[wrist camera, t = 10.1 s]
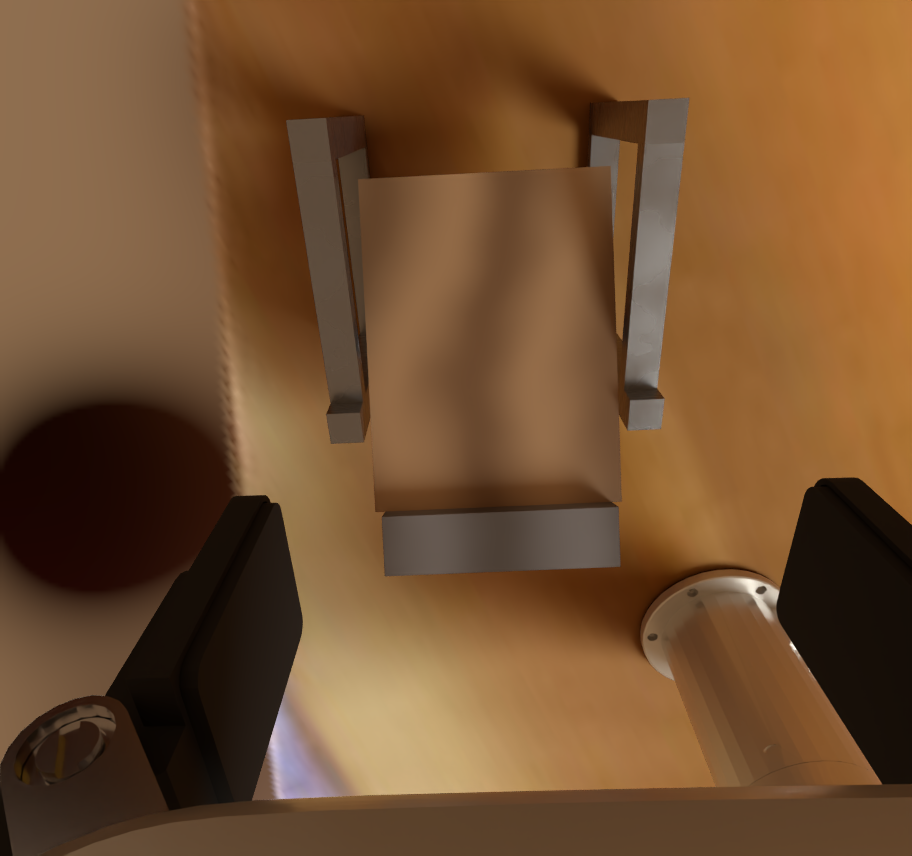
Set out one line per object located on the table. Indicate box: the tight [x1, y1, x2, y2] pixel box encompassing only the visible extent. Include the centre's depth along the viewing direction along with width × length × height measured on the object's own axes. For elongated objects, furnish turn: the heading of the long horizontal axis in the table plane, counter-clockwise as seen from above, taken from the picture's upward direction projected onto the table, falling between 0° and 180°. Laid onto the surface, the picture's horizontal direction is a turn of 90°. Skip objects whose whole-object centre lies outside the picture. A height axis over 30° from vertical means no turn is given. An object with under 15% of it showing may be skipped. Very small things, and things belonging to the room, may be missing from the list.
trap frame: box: [286, 98, 689, 444], centre depth 32 cm, size 16×14×13 cm
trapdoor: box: [358, 166, 622, 576], centre depth 30 cm, size 12×19×4 cm, turn 3°
